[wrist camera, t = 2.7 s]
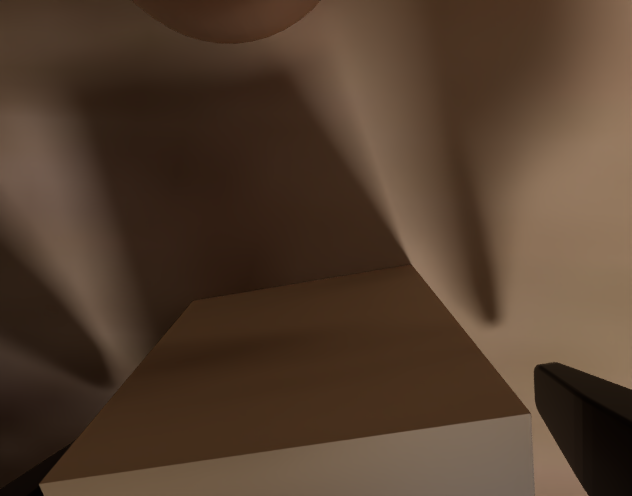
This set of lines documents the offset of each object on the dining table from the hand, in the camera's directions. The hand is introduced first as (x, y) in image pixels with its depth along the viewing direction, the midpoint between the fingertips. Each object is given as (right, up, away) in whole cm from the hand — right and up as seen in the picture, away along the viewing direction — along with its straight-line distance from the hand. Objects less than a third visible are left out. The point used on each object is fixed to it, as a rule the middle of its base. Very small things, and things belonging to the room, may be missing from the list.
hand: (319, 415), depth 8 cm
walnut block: (0, 0, +1) cm, 1 cm away
